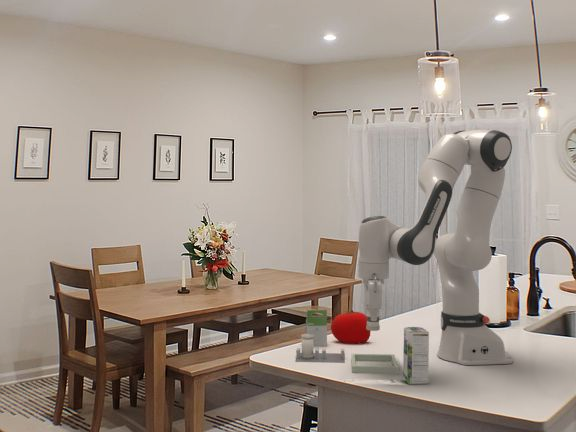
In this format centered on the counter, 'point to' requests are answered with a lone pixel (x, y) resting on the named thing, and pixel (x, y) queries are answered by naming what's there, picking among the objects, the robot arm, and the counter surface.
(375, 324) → the fuse
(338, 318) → the tomato
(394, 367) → the tray
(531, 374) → the counter surface
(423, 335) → the syrup box
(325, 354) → the holder
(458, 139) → the robot arm
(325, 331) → the ink box
